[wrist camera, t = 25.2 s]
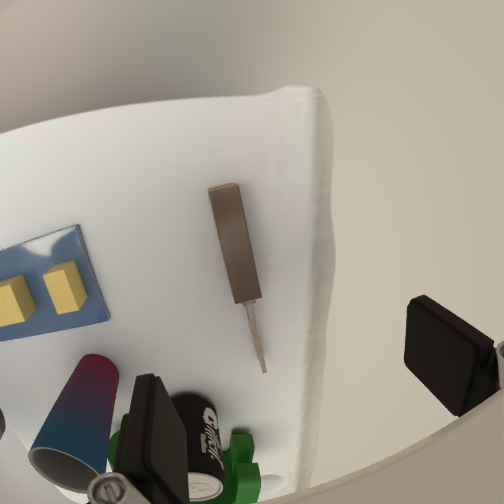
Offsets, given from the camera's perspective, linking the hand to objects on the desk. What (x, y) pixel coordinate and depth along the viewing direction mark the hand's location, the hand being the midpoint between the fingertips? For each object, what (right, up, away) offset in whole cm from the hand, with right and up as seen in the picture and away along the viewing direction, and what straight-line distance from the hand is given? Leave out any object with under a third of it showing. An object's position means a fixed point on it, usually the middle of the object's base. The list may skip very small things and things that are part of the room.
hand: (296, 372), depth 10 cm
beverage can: (-9, -15, +24) cm, 30 cm away
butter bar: (-28, -1, +16) cm, 32 cm away
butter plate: (-26, 0, +17) cm, 31 cm away
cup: (-19, -9, +21) cm, 30 cm away
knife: (-3, +1, +21) cm, 21 cm away
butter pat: (-19, +1, +17) cm, 25 cm away
